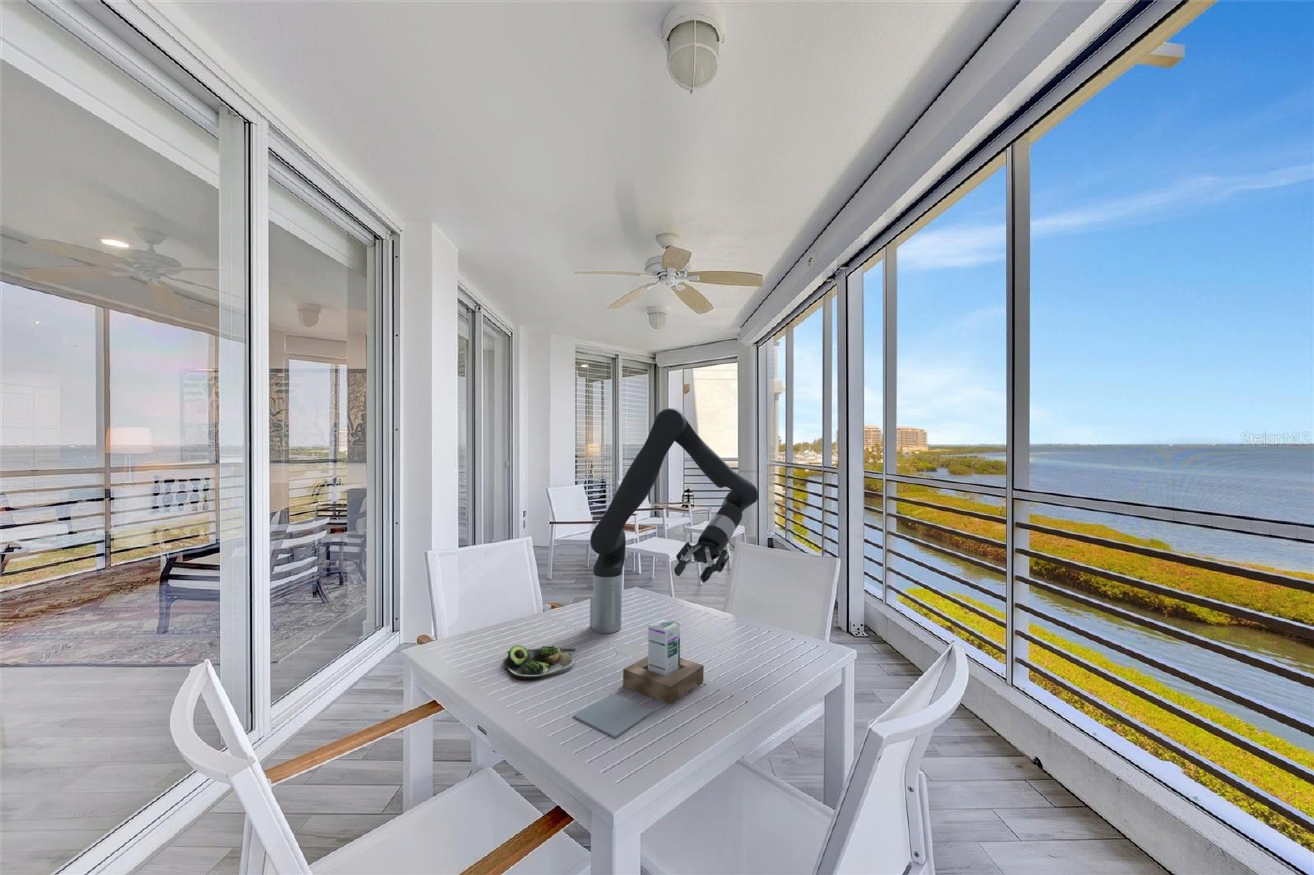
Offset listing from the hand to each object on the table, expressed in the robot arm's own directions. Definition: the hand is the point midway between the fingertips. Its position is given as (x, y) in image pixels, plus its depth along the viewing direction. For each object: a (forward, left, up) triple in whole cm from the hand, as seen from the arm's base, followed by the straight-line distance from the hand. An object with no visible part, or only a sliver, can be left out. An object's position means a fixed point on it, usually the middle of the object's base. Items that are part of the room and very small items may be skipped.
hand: (689, 577), depth 126 cm
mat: (0, -29, -24) cm, 37 cm away
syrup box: (0, -11, -24) cm, 26 cm away
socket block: (0, -11, -24) cm, 26 cm away
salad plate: (-32, -24, -24) cm, 47 cm away
